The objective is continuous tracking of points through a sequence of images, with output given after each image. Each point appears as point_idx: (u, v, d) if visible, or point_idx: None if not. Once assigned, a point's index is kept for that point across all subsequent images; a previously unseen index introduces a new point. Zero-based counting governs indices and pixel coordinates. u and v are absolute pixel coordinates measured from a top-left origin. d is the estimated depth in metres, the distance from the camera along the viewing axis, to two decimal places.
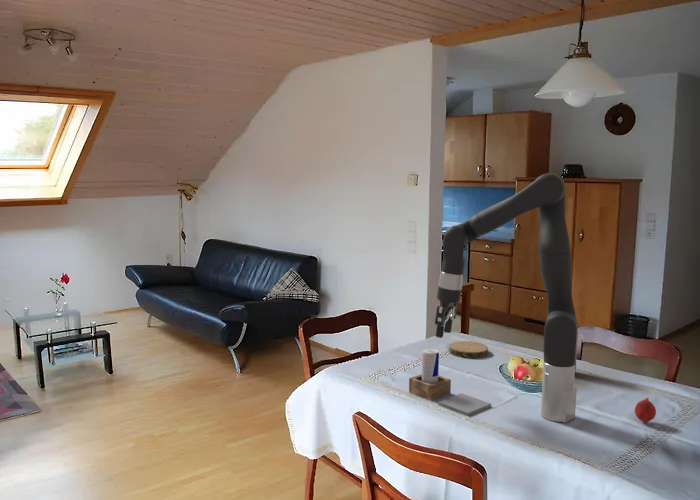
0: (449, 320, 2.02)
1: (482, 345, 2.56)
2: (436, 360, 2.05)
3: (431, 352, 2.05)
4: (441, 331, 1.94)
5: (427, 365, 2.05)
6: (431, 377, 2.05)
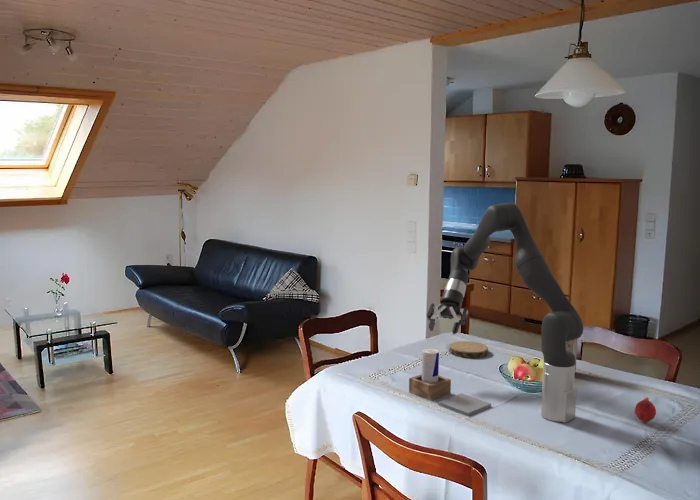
0: None
1: (482, 345, 2.56)
2: (436, 360, 2.05)
3: (431, 352, 2.05)
4: (430, 323, 2.19)
5: (427, 365, 2.05)
6: (431, 377, 2.05)
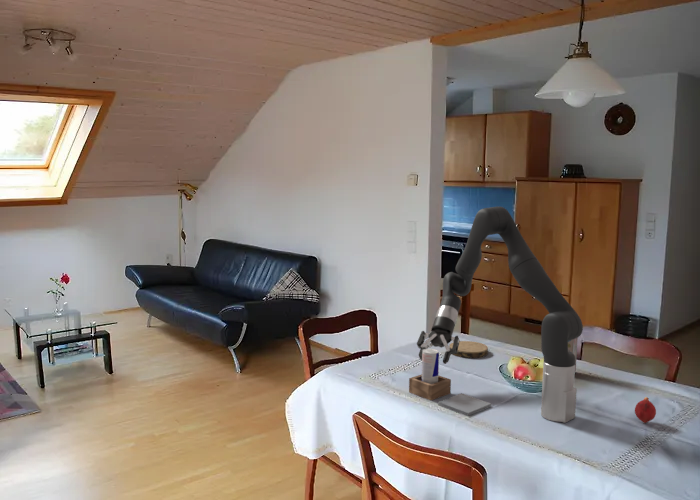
0: None
1: (482, 345, 2.56)
2: (436, 360, 2.05)
3: (431, 352, 2.05)
4: (420, 352, 2.12)
5: (427, 365, 2.05)
6: (431, 377, 2.05)
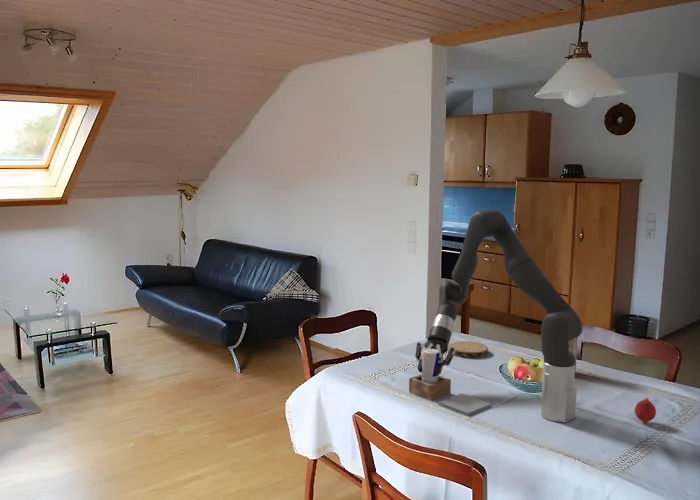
0: None
1: (482, 345, 2.56)
2: (436, 360, 2.05)
3: (431, 352, 2.05)
4: (419, 364, 2.08)
5: (427, 365, 2.05)
6: (431, 377, 2.05)
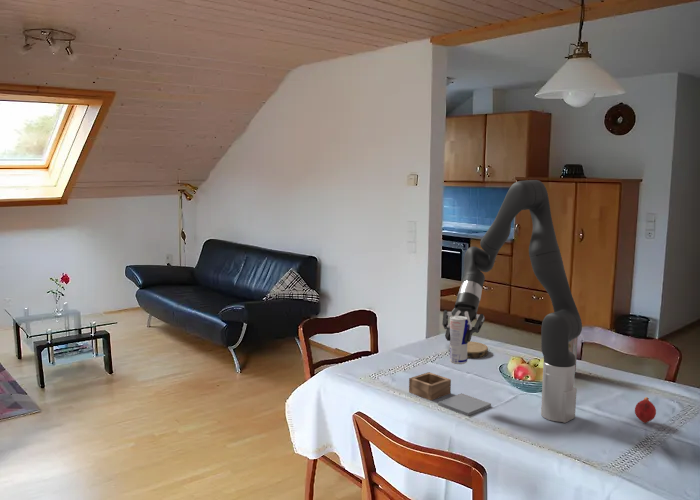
0: None
1: (482, 345, 2.56)
2: (465, 327, 1.94)
3: (459, 319, 1.94)
4: (446, 332, 1.98)
5: (455, 333, 1.94)
6: (460, 345, 1.94)
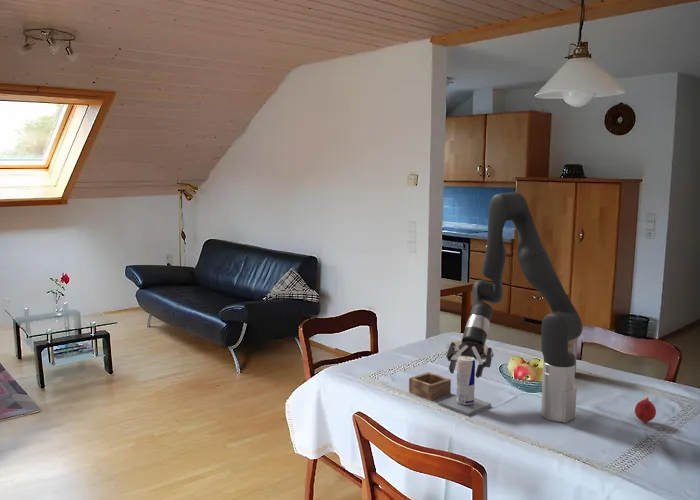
0: None
1: None
2: (472, 368, 1.93)
3: (467, 359, 1.94)
4: (450, 364, 1.98)
5: (462, 374, 1.93)
6: (467, 386, 1.93)
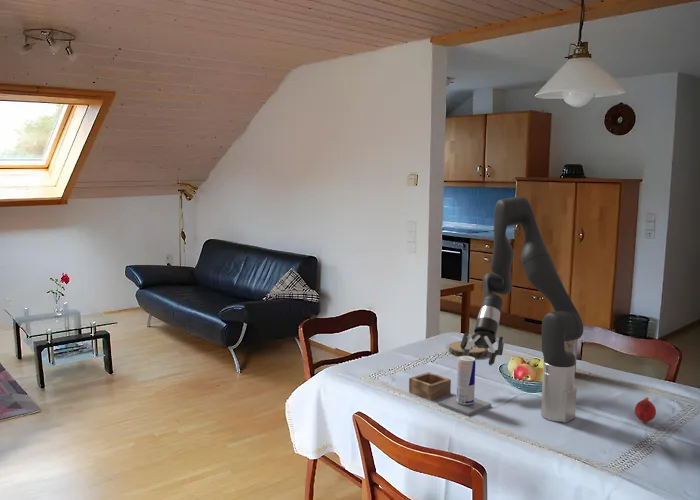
0: None
1: None
2: (473, 368, 1.93)
3: (467, 359, 1.94)
4: (464, 354, 2.09)
5: (463, 374, 1.93)
6: (467, 386, 1.93)
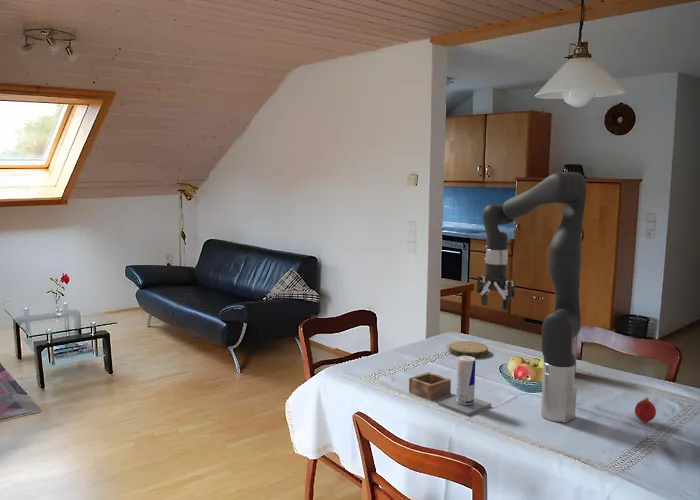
0: None
1: (482, 345, 2.56)
2: (473, 368, 1.93)
3: (467, 360, 1.94)
4: (482, 299, 2.16)
5: (463, 374, 1.93)
6: (467, 386, 1.93)
